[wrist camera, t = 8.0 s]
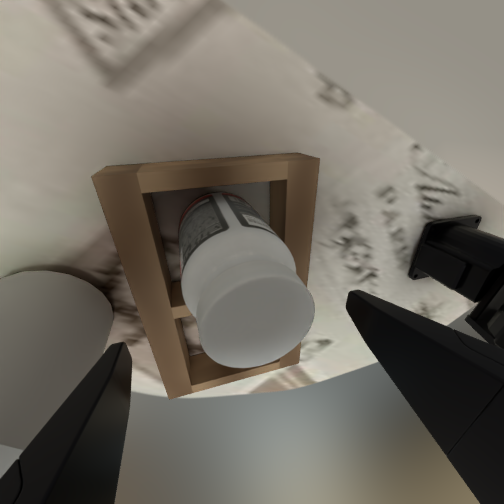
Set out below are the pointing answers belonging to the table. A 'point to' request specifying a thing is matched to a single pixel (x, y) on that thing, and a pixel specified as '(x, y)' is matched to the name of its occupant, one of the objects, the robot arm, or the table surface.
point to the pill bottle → (240, 283)
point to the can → (44, 350)
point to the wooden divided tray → (154, 260)
